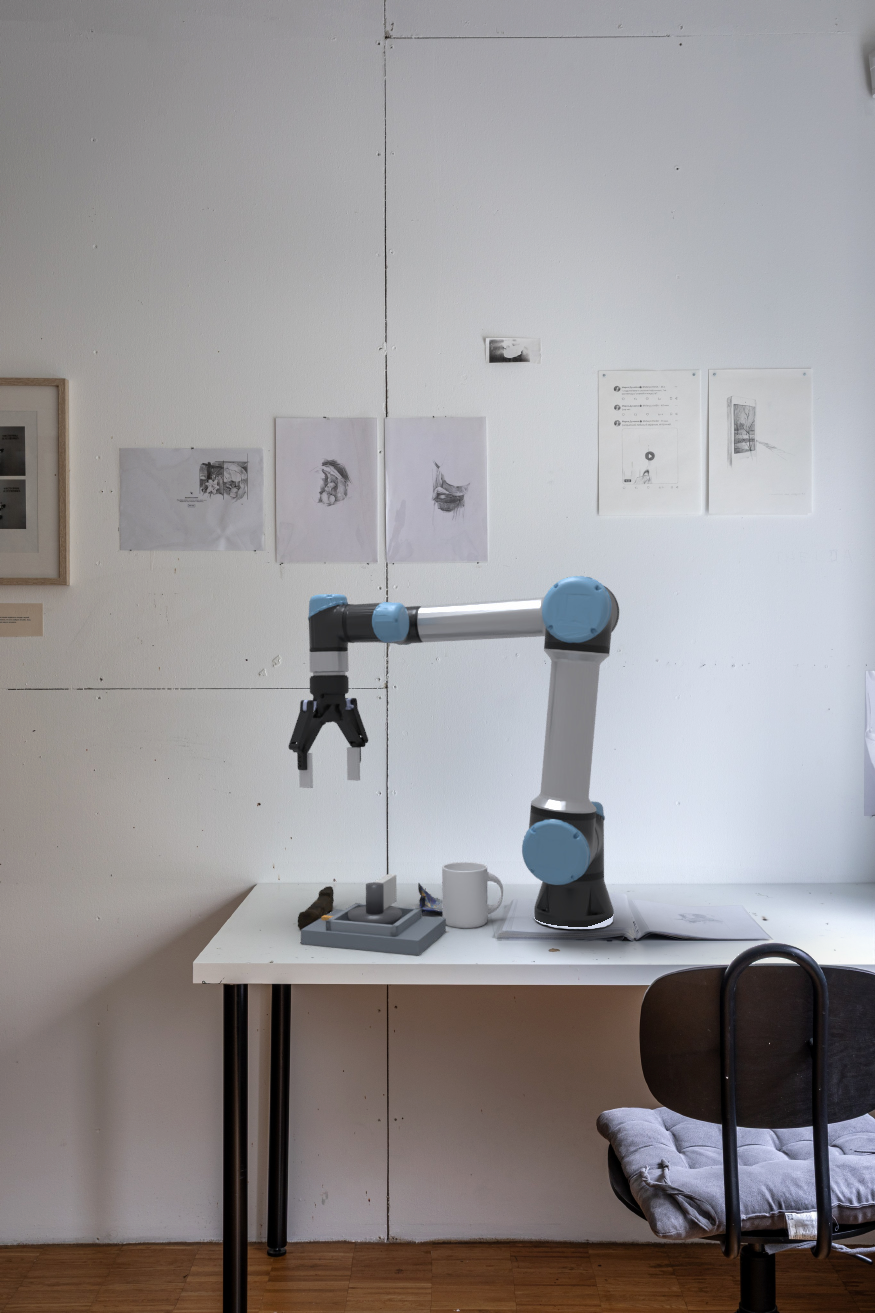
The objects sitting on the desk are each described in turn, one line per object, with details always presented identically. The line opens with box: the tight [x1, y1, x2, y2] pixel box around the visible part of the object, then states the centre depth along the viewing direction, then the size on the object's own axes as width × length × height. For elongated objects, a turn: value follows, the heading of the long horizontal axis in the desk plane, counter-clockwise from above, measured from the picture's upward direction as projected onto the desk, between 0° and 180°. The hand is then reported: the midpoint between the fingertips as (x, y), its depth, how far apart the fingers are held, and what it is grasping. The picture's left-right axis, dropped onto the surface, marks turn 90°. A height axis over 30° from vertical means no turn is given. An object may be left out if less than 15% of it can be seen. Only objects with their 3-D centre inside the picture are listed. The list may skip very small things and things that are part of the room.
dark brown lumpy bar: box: [297, 885, 335, 931], centre depth 182 cm, size 19×4×5 cm, turn 171°
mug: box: [441, 861, 504, 929], centre depth 179 cm, size 9×12×11 cm
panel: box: [300, 902, 447, 956], centre depth 168 cm, size 22×15×4 cm
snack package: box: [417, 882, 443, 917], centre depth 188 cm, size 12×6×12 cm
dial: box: [348, 873, 401, 925], centre depth 170 cm, size 13×10×7 cm
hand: (330, 784), depth 181 cm, fingers open, 13 cm apart
